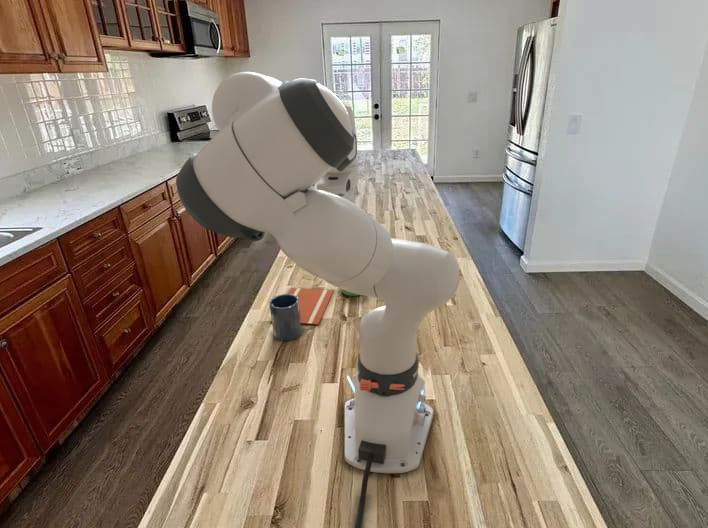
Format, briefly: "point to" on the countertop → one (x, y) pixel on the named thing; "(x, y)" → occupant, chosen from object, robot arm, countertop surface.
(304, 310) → the cloth
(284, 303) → the cup
